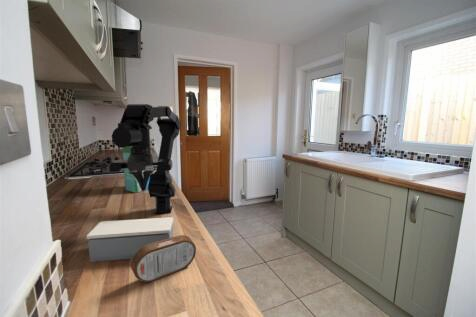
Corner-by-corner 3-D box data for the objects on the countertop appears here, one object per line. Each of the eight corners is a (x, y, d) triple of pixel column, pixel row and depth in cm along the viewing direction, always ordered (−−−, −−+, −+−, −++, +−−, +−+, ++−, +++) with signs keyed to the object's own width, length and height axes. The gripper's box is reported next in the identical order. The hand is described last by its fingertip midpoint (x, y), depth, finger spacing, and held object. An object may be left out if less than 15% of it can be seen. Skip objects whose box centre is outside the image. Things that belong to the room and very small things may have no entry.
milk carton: (136, 192, 115) (132, 142, 111) (125, 189, 120) (121, 141, 116) (151, 188, 123) (148, 141, 119) (140, 185, 128) (137, 140, 123)
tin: (192, 259, 62) (192, 229, 60) (198, 265, 59) (197, 234, 58) (131, 282, 53) (129, 248, 52) (135, 290, 50) (132, 254, 49)
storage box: (103, 244, 68) (101, 225, 67) (173, 238, 72) (172, 220, 71) (90, 261, 60) (87, 240, 59) (170, 254, 63) (169, 234, 62)
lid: (100, 224, 67) (100, 221, 67) (173, 219, 71) (173, 217, 71) (86, 238, 59) (86, 235, 59) (170, 232, 62) (169, 230, 62)
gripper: (99, 147, 65) (103, 200, 68) (167, 146, 68) (169, 197, 71) (112, 143, 76) (116, 189, 79) (171, 142, 79) (173, 186, 82)
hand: (143, 190), depth 77 cm, fingers closed
